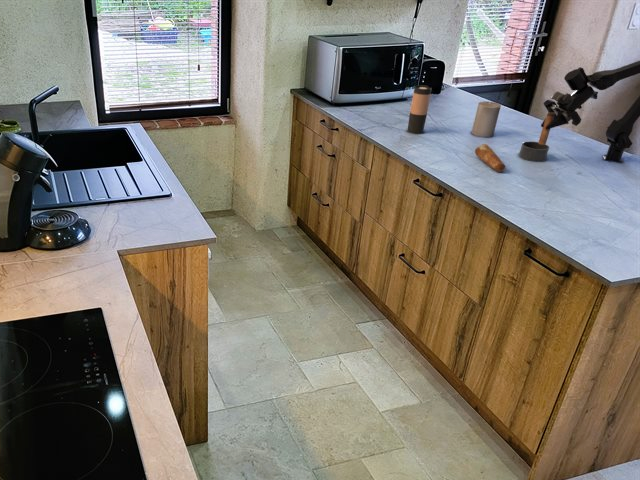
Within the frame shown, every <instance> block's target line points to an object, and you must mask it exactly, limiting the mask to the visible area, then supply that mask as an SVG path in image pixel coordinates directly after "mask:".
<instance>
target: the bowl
mask: <svg viewBox="0 0 640 480" xmlns="http://www.w3.org/2000/svg"><path fill="white" fill-rule="evenodd" d="M538 142H539V141H524V142H522V143H521V146H520V150H519V153H518V157H519V158H520V159H523V160H526V161H530V162H544V161H546V160H547V157H548V153H549V150H550V145H548V144H547V143H546V144H545V145H541V144H539V143H538Z"/></svg>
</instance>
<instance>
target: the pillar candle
mask: <svg viewBox="0 0 640 480" xmlns="http://www.w3.org/2000/svg"><path fill="white" fill-rule="evenodd" d="M501 106H502V104H500V103H498V102H494V101H486V100H485V101H479V102H478V104H477V107H476V112H475V116H474V119H473V120H474V121H473V125H472V129H471V134H472V135H473V136H475V137H482V138H491V137H494V135H495V132H496V127H497V123H498V118H499V114H500V111H501Z"/></svg>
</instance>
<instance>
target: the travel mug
mask: <svg viewBox="0 0 640 480" xmlns="http://www.w3.org/2000/svg"><path fill="white" fill-rule="evenodd" d="M431 95H432V87H429V86H428V85H424V84H418V85H415V86H414V89H413V93H412V99H411V104H410V110H409V116H408V122H407V123H408V124H407V132H408V133H410V134H414V135H415V134H417V135H420V134H423V133H424V129H425V125H426V120H427V116H428V112H429V105H430V100H431Z"/></svg>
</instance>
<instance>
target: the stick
mask: <svg viewBox="0 0 640 480" xmlns="http://www.w3.org/2000/svg"><path fill="white" fill-rule="evenodd" d="M554 115H555V113H554V112H548V111H547V113H546V115H545V118H546V119H545V118H544V120H545V122H544V125H543V127H542V129H541V133H540V136H539V140H538V141H537V142H538V143H539V144H541V145H545V144H546V145H547V142H548V138H549V135H550V131H551V129H548V130H546V129H545V127H546V126H547V125H548V124H549V123H550V122H551V121H552V120H553V118H554Z"/></svg>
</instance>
